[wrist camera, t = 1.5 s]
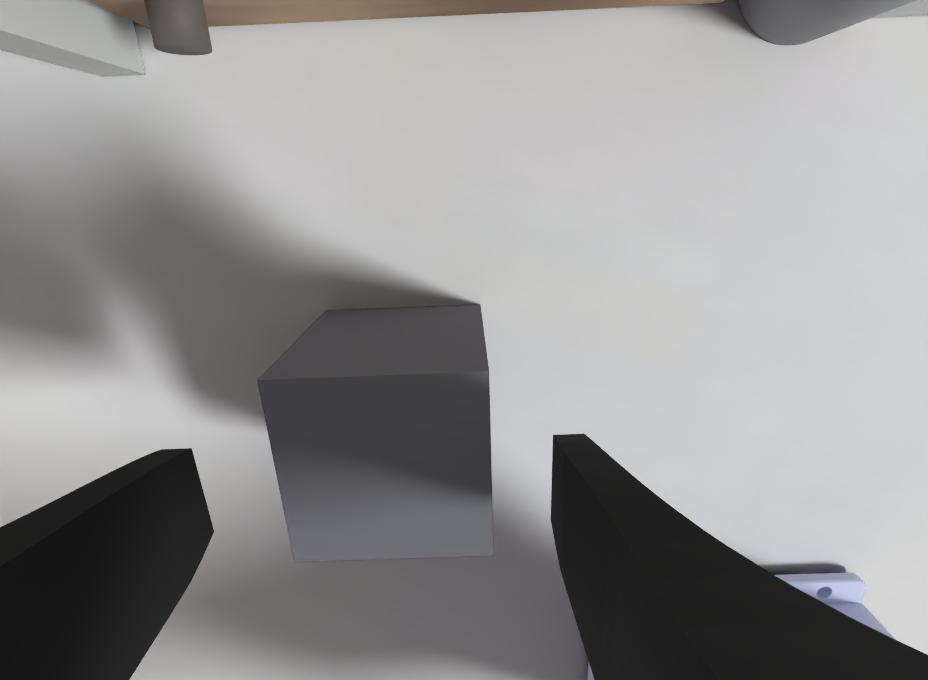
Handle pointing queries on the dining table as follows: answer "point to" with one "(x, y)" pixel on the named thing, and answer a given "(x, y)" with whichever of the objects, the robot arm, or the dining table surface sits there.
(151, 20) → the door
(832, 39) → the dining table surface
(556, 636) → the dining table surface
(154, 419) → the dining table surface
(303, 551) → the block
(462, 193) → the dining table surface
